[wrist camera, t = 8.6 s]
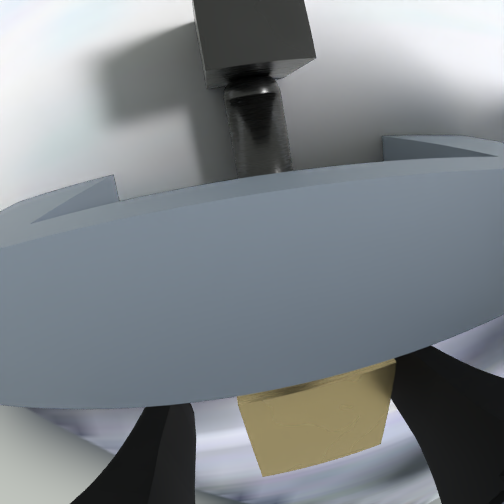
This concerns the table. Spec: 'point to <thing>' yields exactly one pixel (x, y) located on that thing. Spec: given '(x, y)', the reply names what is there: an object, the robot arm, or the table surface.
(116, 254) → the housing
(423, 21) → the table surface
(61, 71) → the table surface
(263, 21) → the plug
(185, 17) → the table surface
